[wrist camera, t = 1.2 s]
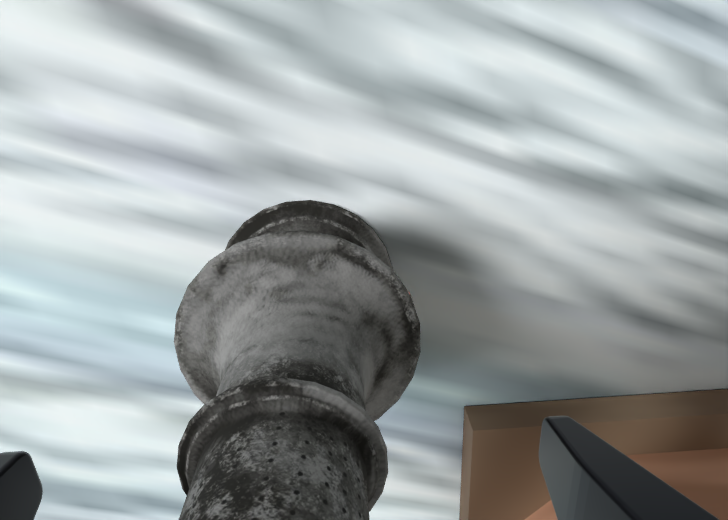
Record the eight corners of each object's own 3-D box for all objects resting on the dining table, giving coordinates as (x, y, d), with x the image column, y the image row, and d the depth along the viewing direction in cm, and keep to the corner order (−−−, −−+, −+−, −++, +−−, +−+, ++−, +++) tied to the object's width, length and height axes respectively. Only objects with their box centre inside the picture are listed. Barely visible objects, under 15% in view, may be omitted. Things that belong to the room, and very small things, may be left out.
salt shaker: (385, 171, 14) (561, 603, 3) (416, 346, 16) (580, 956, 5) (182, 211, 14) (-341, 760, 3) (240, 380, 17) (47, 1040, 6)
